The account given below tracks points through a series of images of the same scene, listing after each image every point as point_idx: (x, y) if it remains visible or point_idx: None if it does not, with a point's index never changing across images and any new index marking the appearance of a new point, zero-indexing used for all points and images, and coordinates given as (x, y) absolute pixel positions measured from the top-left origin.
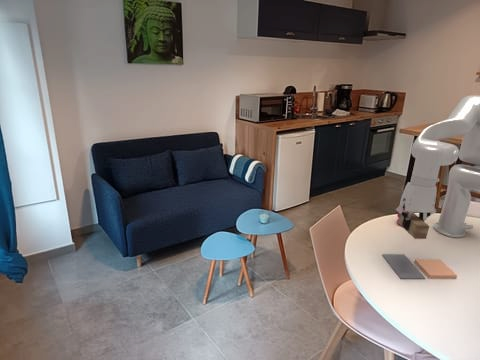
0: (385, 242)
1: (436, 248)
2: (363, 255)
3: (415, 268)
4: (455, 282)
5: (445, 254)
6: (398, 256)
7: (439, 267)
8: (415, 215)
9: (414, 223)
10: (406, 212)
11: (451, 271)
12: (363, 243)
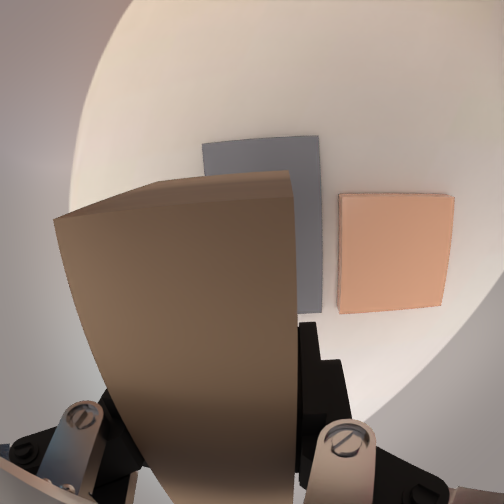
0: (267, 24)
1: (484, 88)
2: (121, 158)
3: (314, 252)
4: (418, 317)
5: (496, 135)
6: (277, 156)
7: (414, 259)
8: (270, 416)
9: (177, 500)
10: (75, 470)
11: (440, 282)
12: (151, 53)
